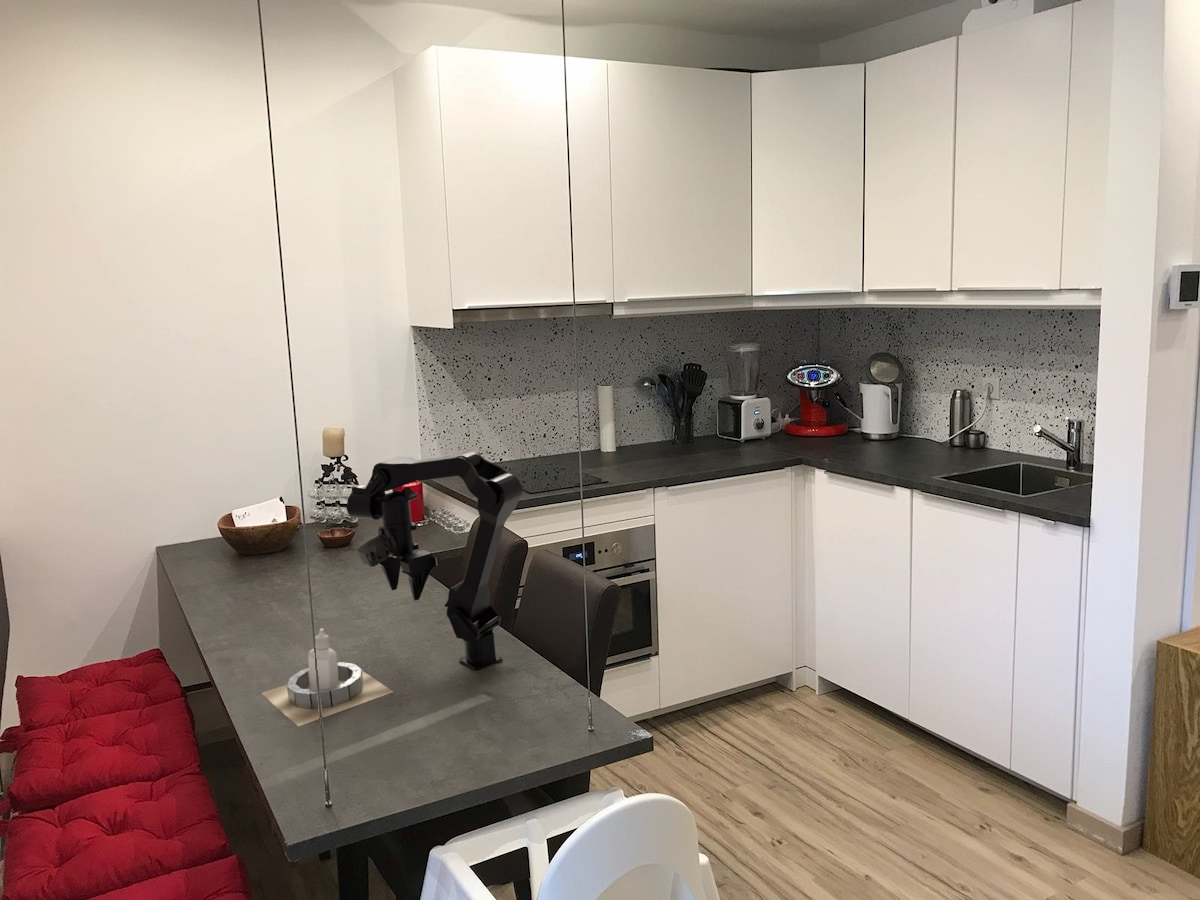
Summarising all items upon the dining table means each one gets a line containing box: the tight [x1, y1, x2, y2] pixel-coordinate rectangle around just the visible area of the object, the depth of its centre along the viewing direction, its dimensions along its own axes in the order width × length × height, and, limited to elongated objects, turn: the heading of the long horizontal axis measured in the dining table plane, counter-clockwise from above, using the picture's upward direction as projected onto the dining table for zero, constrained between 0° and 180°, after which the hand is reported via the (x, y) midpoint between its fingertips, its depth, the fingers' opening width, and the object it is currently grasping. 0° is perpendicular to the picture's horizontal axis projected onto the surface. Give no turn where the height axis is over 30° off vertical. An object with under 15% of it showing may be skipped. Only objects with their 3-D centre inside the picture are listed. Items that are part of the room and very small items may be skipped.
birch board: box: [261, 670, 394, 727], centre depth 174 cm, size 18×18×1 cm
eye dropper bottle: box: [307, 628, 339, 690], centre depth 173 cm, size 4×6×12 cm
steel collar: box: [286, 661, 363, 710], centre depth 173 cm, size 13×13×3 cm
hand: (405, 594), depth 191 cm, fingers open, 9 cm apart
